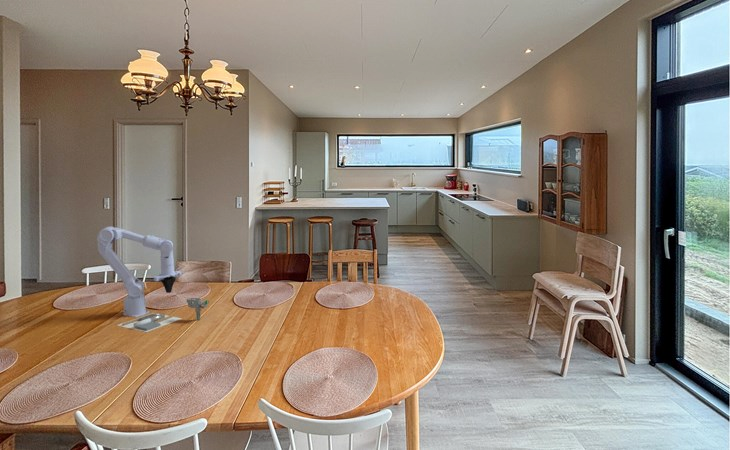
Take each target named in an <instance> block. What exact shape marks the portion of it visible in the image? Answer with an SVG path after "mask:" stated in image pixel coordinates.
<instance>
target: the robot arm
mask: <svg viewBox="0 0 730 450" xmlns="http://www.w3.org/2000/svg"><path fill="white" fill-rule="evenodd" d="M121 239H125V240H126V239H127V240H129V241H134V242H138V243H141V244H142V245H143V247H146V248H149V249H152V250H156V251H159V252H160V258H159V259H160V271H161V273H160V274H158V275H155V276H153V281H154V282H159V281H160V282H161V283H162V285H163V287H164V290H165V292H166V293H172V291H173V286H174V284H175V282H176V280H177V278H176V277H177V276H182V270H176V271H175V260H174V251H173V250H174V249H173V248H174V244H173V242H172V241H171V240H170V239H167V238H166V239H165V238H163V237H162V238H160V237H156V236H155V235H154V234H146V235H141V234H139V233H135V232H133V231H130V230H127V229H124V228H120V227H114V226H111V225H107V226H106V227H104V228H102V229H101V230H99V231H98V234H97V236H96V240H97V251H98V253H99V254H100V255H101V257H102V258H103V259H104V260H105V261H106V263H107V264H108V265H109V267H111V269H112V270H113V271H114V273H115V274H116V276H117V277H119V279H120V280H121V281H122V284H123V286H124V288H125V289H126V293H127V295H126V296H125V297H124V298H123V302H122V303H123V313H122V315H124V316H126V317H127V316H128V317H132V318H139V317H142V316H145V315H148V314H151V311H149V310H146V309H147V308H146V294H145V292H144V289H145V283H144V282H143V281H142V280H139V278H137V277H136V276H135V275H133V273H132V272H131V271H130V269H129V268H128V267H127V266H126V265H125V263H124V262H123V261H122V259H121V258H120V257H119V256H118V255H117V253H116V252H115V251H114V249H113V244H114V241H115V240H121Z"/></svg>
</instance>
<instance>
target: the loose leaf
mask: <svg viewBox="0 0 730 450" xmlns="http://www.w3.org/2000/svg"><path fill="white" fill-rule="evenodd" d="M150 314H151V313H150ZM159 314H160V315H155V314H151V315H148V314H147V315H148V316H145V315H144V316H145V317H142V316H141V317H142V318H140V317H138V318H139V321H142V320H145V319H148V318H150V319H151V322H154V321H157V320H160V319H162V318H165V315H166V314H165V313H159Z"/></svg>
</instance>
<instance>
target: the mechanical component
mask: <svg viewBox="0 0 730 450" xmlns="http://www.w3.org/2000/svg"><path fill="white" fill-rule="evenodd" d="M186 303H187V307H188V308H190V309H195V310H194V312H195V313H196V315H195V316H196V321H200V320H201V311H202V309H206V308H207V307H208V305H209V303H210V302H209V300H208V299H204V300H202V298H195V297H190V298H187V299H186Z"/></svg>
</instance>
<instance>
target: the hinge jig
mask: <svg viewBox="0 0 730 450" xmlns="http://www.w3.org/2000/svg"><path fill="white" fill-rule="evenodd" d="M151 314H155V315H160V314H161V313H158V312H152V313H151V312H150V313H147V314H144V315H141V316H139V317H136V318H135V319H131V320H129V321H125V322H121V323H119V324H117V325H116V326H118V327H121V328H122V327H123V328H127V329H131V330H136V331H139V332H140V331H141V332H144V333H147V332H150V331H153V330H157V329H159V328H162V327H164V326H167V325H169V324H172V323H174V322H177V321H180V320H182V319H183V317H182V318H181V317H177V316H173V315H167V314H164V315H165V318H162V319H160V320H157V321H154V322H151V319H150V318H148V319H145V320H142V321H139V318H142V317H145V316H148V315H151Z"/></svg>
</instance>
